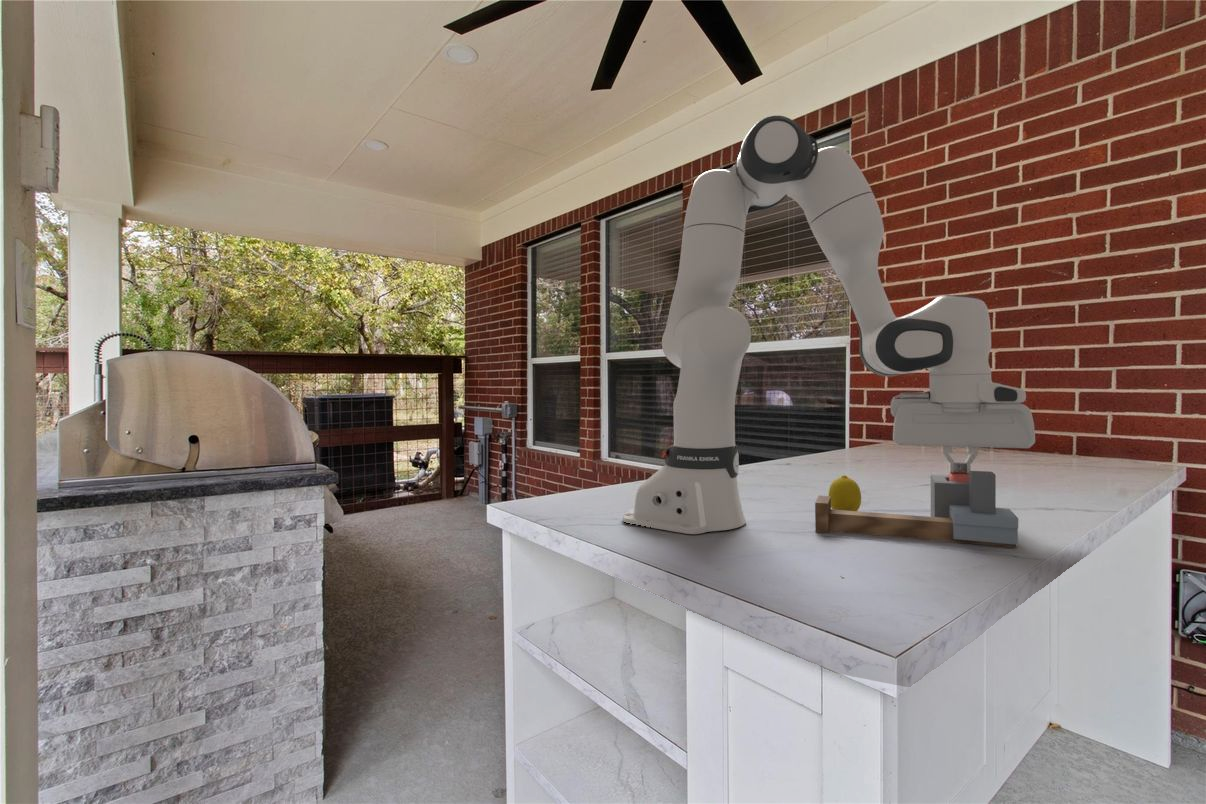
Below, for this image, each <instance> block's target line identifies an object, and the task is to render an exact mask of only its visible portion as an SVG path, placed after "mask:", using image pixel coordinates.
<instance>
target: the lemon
mask: <svg viewBox="0 0 1206 804" xmlns="http://www.w3.org/2000/svg"><path fill="white" fill-rule="evenodd" d="M861 493H862V491H861V489H860V486H859V485H858V483H857V482H856V481H855V480H854V479H852V478H850V477H848V476H847V475H841V476H840V477H838V478H836V479H834V480H833V481H832V482H831V484H830V485H829V489H828V496H831V509H832V510H846V511H859V509H860V506H861V504H862V494H861Z"/></svg>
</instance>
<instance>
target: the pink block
mask: <svg viewBox="0 0 1206 804" xmlns="http://www.w3.org/2000/svg"><path fill="white" fill-rule="evenodd" d="M948 474H949V475H948V476H949V481H952V482H969V474H964V473H950V472H949V473H948Z"/></svg>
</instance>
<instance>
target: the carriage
mask: <svg viewBox="0 0 1206 804" xmlns="http://www.w3.org/2000/svg"><path fill="white" fill-rule="evenodd" d="M996 476H997V475H996V474H995V473H994V472H993V471H988V470H987V471H986V470H985V471H983V470H970V471H969V506H960V505H949V514H950V518H952V520H953V538H954V539H959V540H970V541H982V542H993V543H1005V544H1016V546H1017V545H1018V544H1019V535H1018V533H1019V531H1018V530H1019V518H1018V516H1017V515H1016V514H1015V513H1014V512H1013V511H1012V510H1011V509H1010V508H1005V507H1004V508H1002V507H996V501H997V500H996V499H997V498H996V495H997V494H996V489H997V488H996V484H997V483H996V481H997V480H996Z"/></svg>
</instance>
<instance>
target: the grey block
mask: <svg viewBox="0 0 1206 804" xmlns="http://www.w3.org/2000/svg"><path fill="white" fill-rule="evenodd" d="M949 505H960V506H969V482H952V481H949V475H946V474H930V517H941V518H950V514H949Z"/></svg>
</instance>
